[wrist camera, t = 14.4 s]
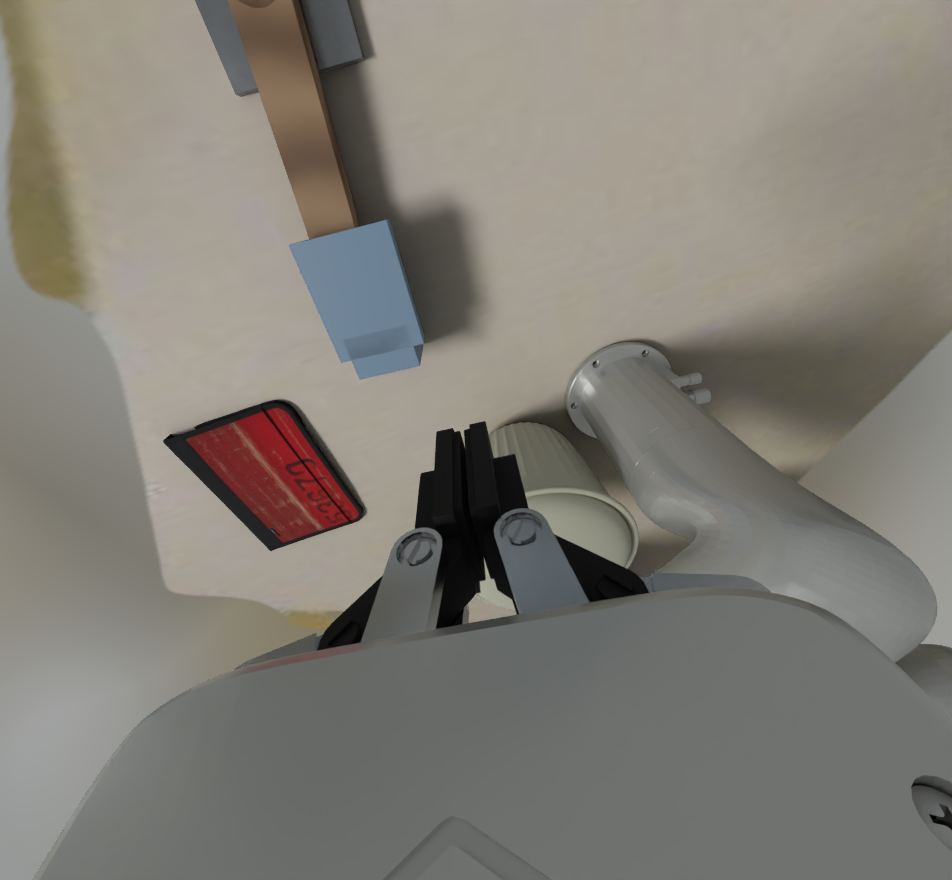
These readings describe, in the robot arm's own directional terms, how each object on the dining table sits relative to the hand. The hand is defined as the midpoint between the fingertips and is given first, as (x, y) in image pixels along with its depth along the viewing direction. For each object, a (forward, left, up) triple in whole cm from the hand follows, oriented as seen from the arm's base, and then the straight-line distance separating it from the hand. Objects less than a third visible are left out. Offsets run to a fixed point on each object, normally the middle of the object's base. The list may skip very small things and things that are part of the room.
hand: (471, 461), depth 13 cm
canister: (-3, +23, -29) cm, 37 cm away
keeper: (+8, -1, -29) cm, 30 cm away
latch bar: (+9, -13, -28) cm, 32 cm away
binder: (+29, +18, -30) cm, 45 cm away
